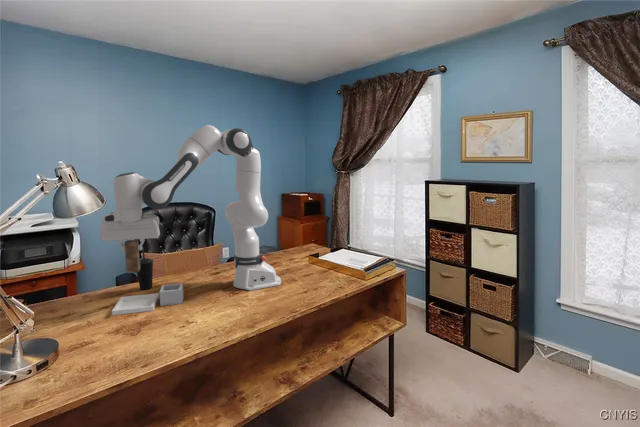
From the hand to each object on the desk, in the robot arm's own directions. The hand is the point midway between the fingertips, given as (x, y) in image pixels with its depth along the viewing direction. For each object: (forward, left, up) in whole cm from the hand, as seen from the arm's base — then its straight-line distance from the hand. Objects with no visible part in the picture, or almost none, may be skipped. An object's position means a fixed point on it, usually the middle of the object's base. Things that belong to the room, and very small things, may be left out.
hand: (132, 250), depth 133 cm
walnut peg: (0, 0, -8) cm, 8 cm away
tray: (0, 0, -23) cm, 23 cm away
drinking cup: (0, -20, -24) cm, 31 cm away
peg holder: (-13, -1, -23) cm, 27 cm away
